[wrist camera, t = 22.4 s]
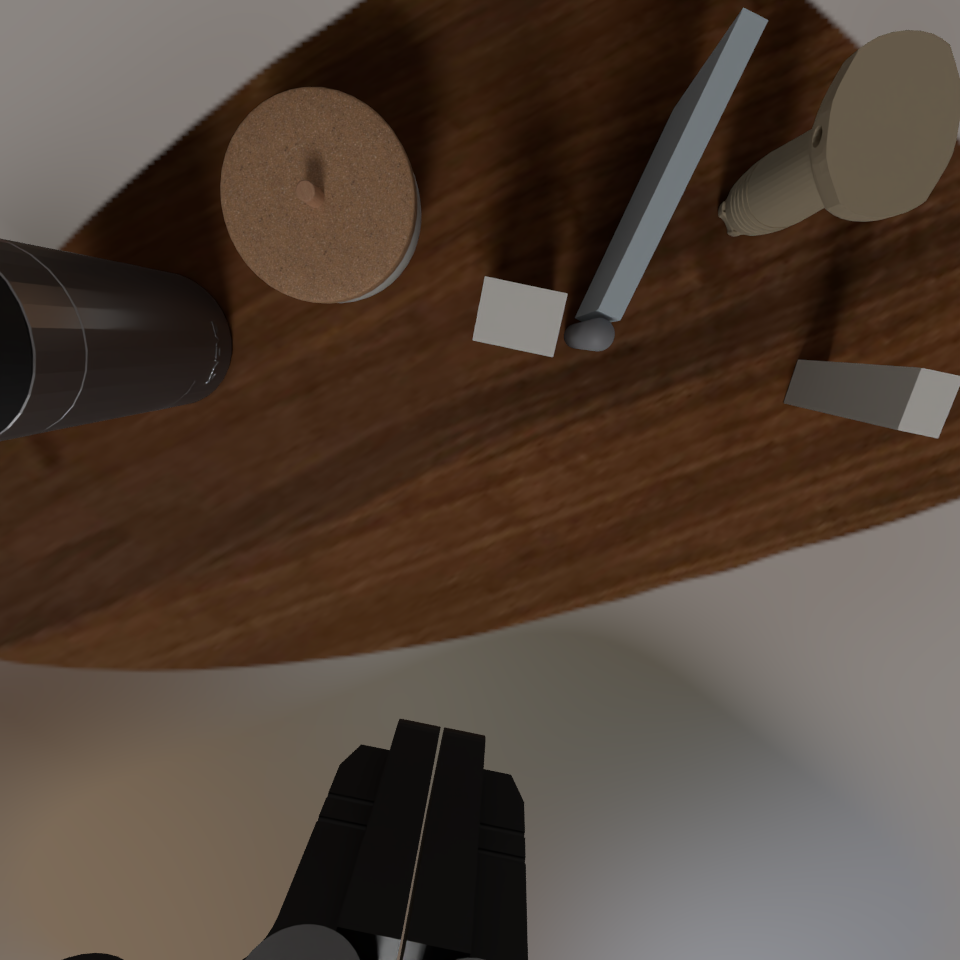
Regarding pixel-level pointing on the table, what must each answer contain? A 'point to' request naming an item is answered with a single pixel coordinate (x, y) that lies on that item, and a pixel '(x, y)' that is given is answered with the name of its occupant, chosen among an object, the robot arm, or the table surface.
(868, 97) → the tan tapered grip
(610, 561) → the table surface
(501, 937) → the robot arm
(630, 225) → the door
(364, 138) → the lidded jar
